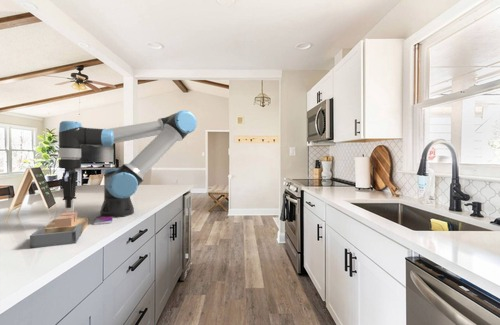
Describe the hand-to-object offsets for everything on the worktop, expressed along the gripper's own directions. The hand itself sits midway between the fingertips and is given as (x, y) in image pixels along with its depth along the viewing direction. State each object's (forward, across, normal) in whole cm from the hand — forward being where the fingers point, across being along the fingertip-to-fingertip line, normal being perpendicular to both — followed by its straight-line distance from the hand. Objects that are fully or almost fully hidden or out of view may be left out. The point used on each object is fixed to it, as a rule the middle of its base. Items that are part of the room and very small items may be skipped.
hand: (69, 215), depth 103 cm
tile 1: (+2, +10, +1) cm, 10 cm away
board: (+5, +7, +1) cm, 8 cm away
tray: (+5, +20, +1) cm, 20 cm away
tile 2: (+2, +4, +1) cm, 4 cm away
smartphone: (+5, -6, +12) cm, 14 cm away
